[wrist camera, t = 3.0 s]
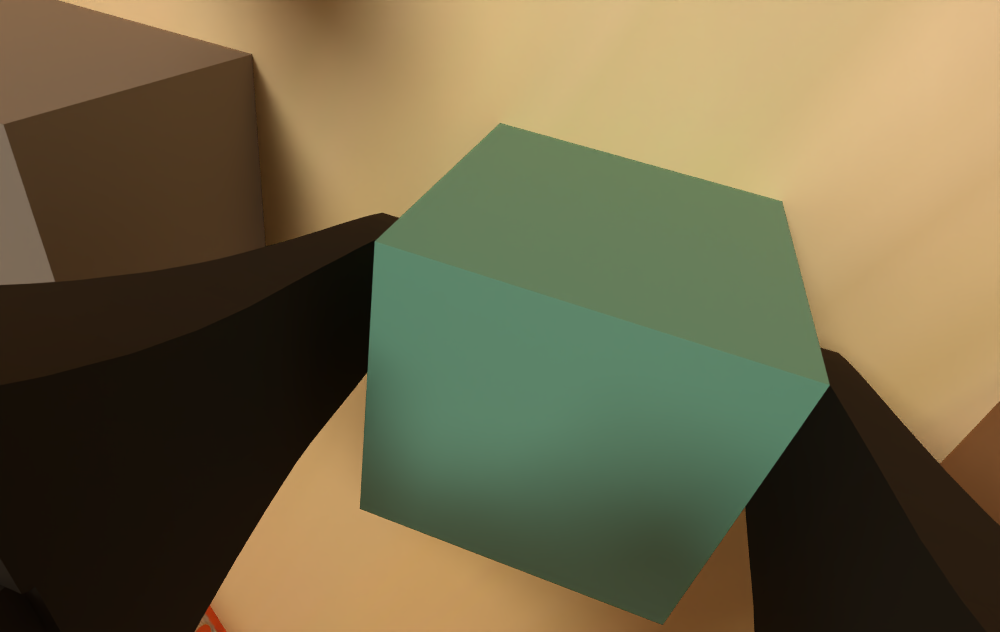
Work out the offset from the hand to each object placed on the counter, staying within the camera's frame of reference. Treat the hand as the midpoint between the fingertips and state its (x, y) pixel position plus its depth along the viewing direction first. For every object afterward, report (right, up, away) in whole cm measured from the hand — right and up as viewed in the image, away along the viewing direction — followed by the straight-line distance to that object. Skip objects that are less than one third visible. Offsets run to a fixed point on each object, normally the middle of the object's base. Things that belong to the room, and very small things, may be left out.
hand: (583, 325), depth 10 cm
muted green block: (0, +1, +1) cm, 2 cm away
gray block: (-9, +4, +3) cm, 10 cm away
